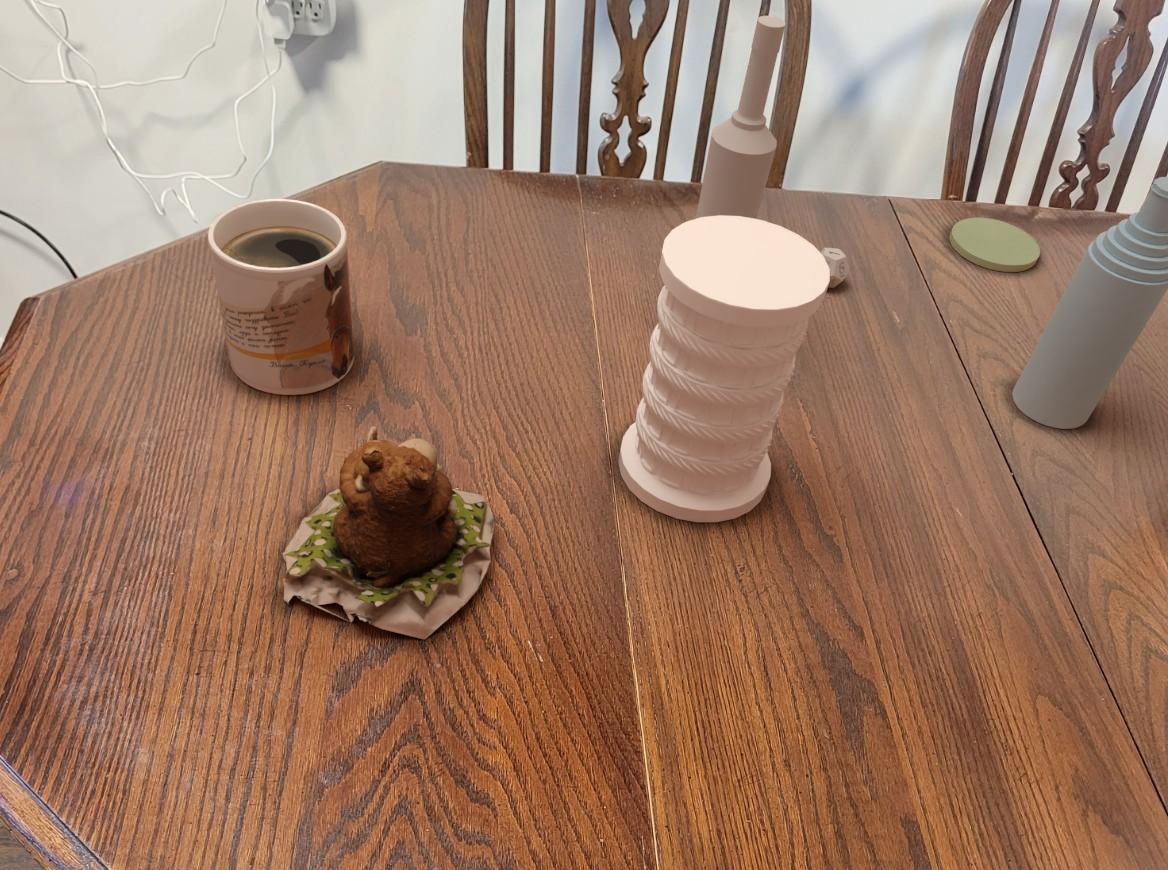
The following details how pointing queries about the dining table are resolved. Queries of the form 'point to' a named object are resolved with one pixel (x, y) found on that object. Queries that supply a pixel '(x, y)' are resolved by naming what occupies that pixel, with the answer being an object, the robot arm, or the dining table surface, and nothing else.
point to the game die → (836, 265)
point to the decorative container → (720, 364)
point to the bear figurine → (392, 541)
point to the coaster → (994, 244)
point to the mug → (284, 294)
